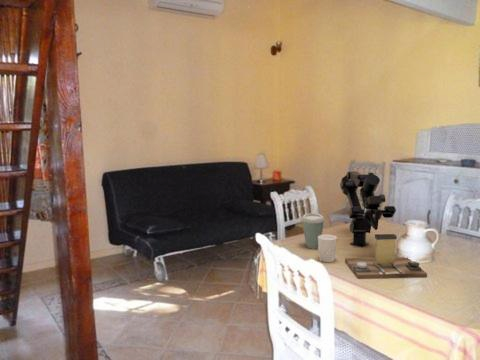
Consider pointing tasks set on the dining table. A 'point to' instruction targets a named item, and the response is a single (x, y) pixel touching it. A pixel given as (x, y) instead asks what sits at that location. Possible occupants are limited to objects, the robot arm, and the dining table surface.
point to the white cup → (327, 247)
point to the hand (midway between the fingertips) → (376, 229)
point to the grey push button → (362, 265)
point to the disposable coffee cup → (312, 228)
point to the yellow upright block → (385, 250)
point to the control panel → (385, 269)
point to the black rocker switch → (413, 263)
